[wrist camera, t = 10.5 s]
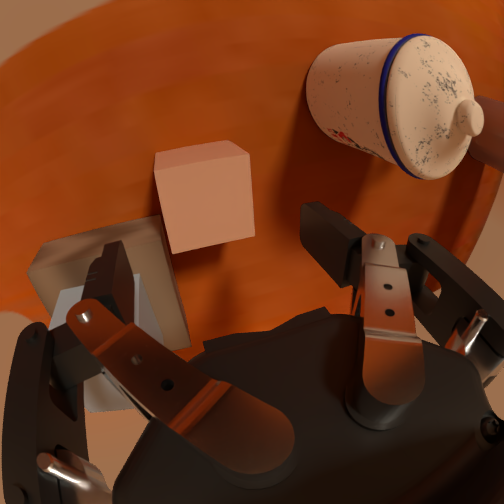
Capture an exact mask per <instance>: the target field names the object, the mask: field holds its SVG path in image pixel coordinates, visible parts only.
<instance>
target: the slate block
mask: <svg viewBox="0 0 504 504" xmlns="http://www.w3.org/2000/svg"><path fill="white" fill-rule="evenodd" d="M133 276H134V281H135V297H134V324H136V325H137V326H138V327H140V328H141V329H142V330H143V331H145V332H146V333H147V334H149V335H150V336H151V337H153V338H154V339H155V340H157V341H158V342H159V343H161V344H162V345H163V346H164V342H163V335H162V332H161V330H160V327H159V325H158V322H157V320H156V317H155V315H154V312H153V309H152V307H151V304H150V301H149V299H148V296H147V293H146V290H145V288H144V285H143V282H142V279H141V276H140V273H139V274H134V275H133ZM83 288H84V285H83V286H78V287H74V288H69V289H64V290H61V291H60V294H59V297H58V300H57V303H56V306H55V309H54V312H53V316H52V319H51V322H50V326H49V330H52V329H54V328H56V327H58V326H60V325H62V324H64V323H66V315H67V313H68V311H69V309H70V308H71V307H72V306H73V305H74V304H76V303H77V302H79V301H81V297H82V292H83ZM84 407H85V408H86V409H87V410H88V411H89V412H105V411H116V410H125V409H134V407H133V406H132V405H131V404H130V403H129V402H128V401H127V400H126V399H125V398H124V397H123V396H122V395H121V394H120V393H119V392H118V391H117V390H116V389H115V388H114V387H113V386H112V385H111V384H110V383H109V381H108V380H107V379H106V378H105V377H104V376H103V375H102V374H101V373H100V374H98V375H96V376H94V377H92V378H90V379H88V380H85V381H84Z"/></svg>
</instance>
